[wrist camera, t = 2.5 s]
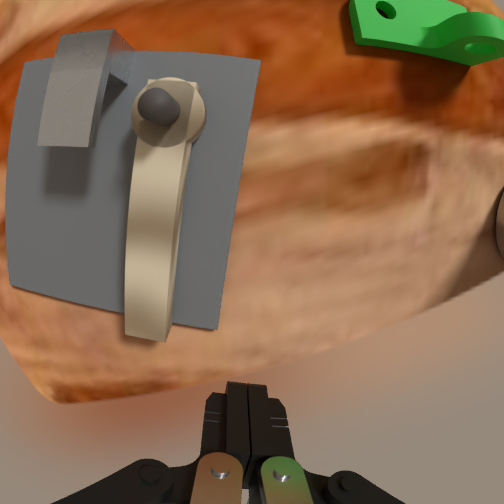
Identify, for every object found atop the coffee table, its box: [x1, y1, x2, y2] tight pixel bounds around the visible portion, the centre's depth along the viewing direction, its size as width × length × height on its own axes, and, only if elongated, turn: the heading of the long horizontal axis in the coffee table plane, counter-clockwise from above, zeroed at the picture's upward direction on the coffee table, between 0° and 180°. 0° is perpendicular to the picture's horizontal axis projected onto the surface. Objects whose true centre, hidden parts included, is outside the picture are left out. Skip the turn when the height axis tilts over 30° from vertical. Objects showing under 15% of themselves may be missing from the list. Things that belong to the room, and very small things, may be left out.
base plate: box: [5, 51, 261, 330], centre depth 21 cm, size 20×20×1 cm
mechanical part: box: [349, 0, 504, 66], centre depth 14 cm, size 12×6×8 cm, turn 95°
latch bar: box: [125, 77, 207, 342], centre depth 18 cm, size 17×4×5 cm, turn 171°
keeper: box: [37, 29, 136, 148], centre depth 16 cm, size 4×8×4 cm, turn 171°
